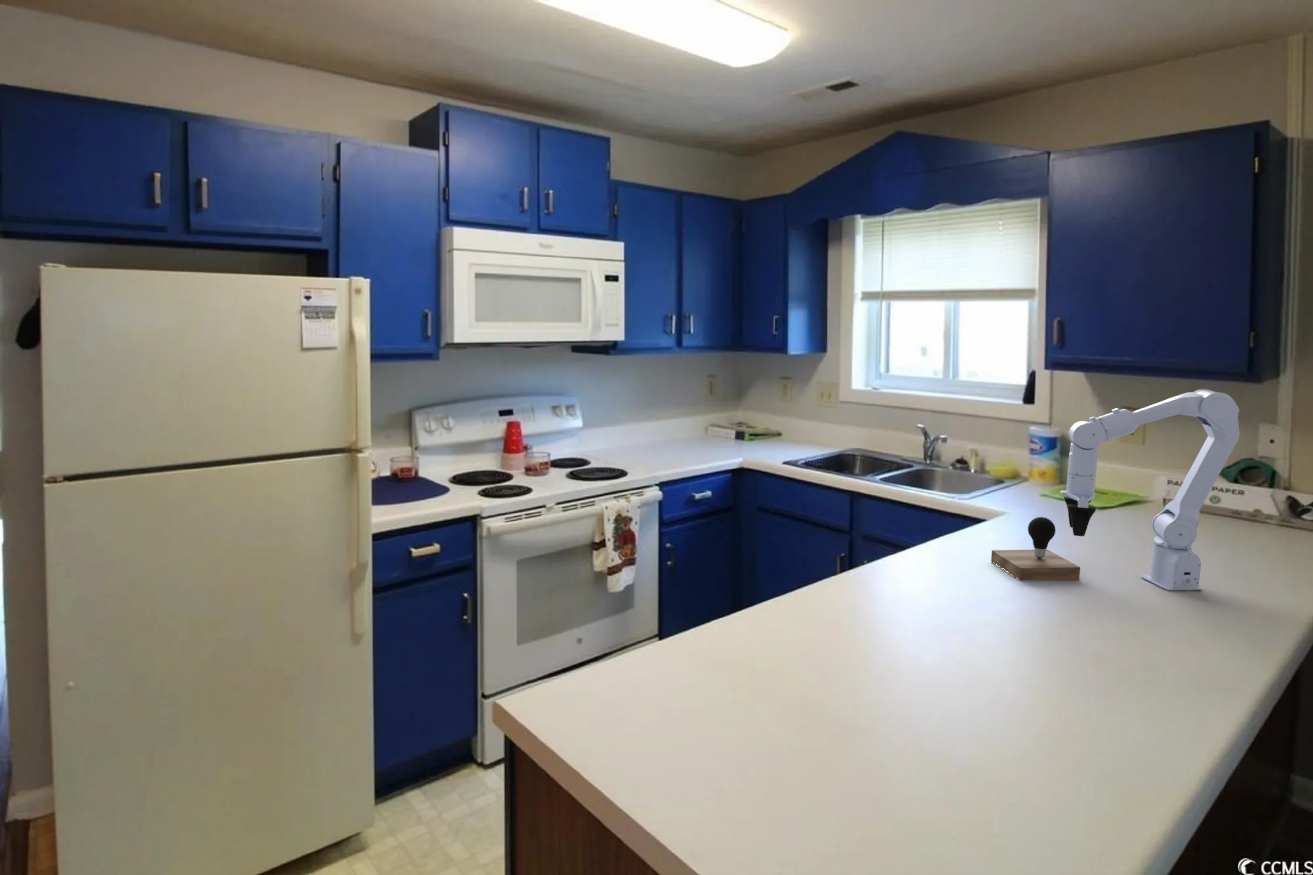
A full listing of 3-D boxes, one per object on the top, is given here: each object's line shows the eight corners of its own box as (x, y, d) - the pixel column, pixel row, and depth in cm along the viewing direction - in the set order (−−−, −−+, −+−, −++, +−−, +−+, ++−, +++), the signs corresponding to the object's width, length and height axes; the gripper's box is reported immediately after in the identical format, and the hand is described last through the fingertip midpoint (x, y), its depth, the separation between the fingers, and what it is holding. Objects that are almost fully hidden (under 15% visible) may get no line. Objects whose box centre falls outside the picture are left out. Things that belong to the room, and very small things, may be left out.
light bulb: (1057, 562, 185) (1060, 520, 184) (1031, 562, 186) (1034, 520, 184) (1047, 555, 191) (1050, 514, 189) (1021, 554, 191) (1024, 514, 190)
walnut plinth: (1079, 579, 182) (1080, 567, 182) (1019, 580, 181) (1020, 568, 181) (1046, 561, 196) (1047, 549, 196) (991, 562, 195) (991, 550, 195)
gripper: (1059, 467, 190) (1054, 522, 192) (1065, 478, 177) (1060, 537, 179) (1092, 469, 188) (1087, 525, 190) (1101, 480, 174) (1096, 540, 176)
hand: (1076, 531), depth 184 cm, fingers open, 7 cm apart
